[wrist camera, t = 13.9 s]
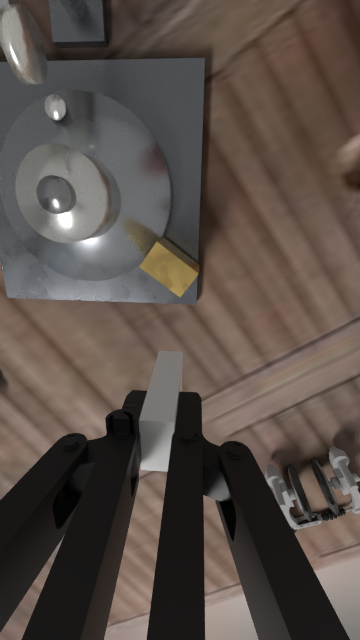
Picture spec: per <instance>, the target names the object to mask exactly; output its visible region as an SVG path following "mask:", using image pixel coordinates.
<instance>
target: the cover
mask: <svg viewBox="0 0 360 640" xmlns="http://www.w3.org/2000/svg"><path fill="white" fill-rule="evenodd" d="M15 188H16V197H17V201H18V205H19V207H20V210H21V212H22V214H23V216H24V218H25V219H26V220H27V222H28V223H29V224H30V225H31V227H32V228H33V229H34V230H35V231H37V232H38V233H39V234H41V235H42V236H44V237H45V238H47V239H50V240H52V241H56V242H61V243H71V242H77V241H82V240H87V239H92V238H96V237H99V236H102V235H103V234H105V233H107V232H108V231H109V230H110V229H111V228H112V227H113V225H114V224H115V222H116V220H117V218H118V216H119V212H120V207H121V196H120V190H119V187H118V184H117V182H116V179H115V178H114V176H113V174H112V173H111V172H110V170H109V169H108V168H107V167H106V166H105V165H104V164H102V163H101V162H100V161H98V160H96V159H95V158H92V157H90V156H88V155H86V154H84V153H82V152H80V151H78V150H76V149H74V148H72V147H70V146H67V145H64V144H58V143H48V144H43V145H41V146H38V147H36V148H35V149H33V150H32V151H30V152H29V153H28V154H27V155H26V156H25V157H24V159H23V160H22V162H21V164H20V166H19V168H18V172H17V176H16V184H15Z"/></svg>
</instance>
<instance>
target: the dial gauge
mask: <svg viewBox="0 0 360 640" xmlns="http://www.w3.org/2000/svg"><path fill="white" fill-rule="evenodd" d="M48 1H49V10H50V19H51V28H52V38H53V43H54V44H55V45H56V46H57V47H58V48H70V47H108V42H107V25H106V8H105V0H48ZM0 47H2V48H3V51H4V54H5V56H6V59H7V61H8V63H9V65H10V67H11V69H12V71H13V72H14V74H15V75H16V77H17V78H18V79H19V80H20V81H21V82H22V83H24V84H44V83H45V82H46V79H47V74H48V65H47V56H46V51H45V47H44V43H43V39H42V36H41V33H40V31H39V28H38V26H37V24H36V21H35V19H34V18H33V16H32V14H31V13H30V11H29V10H28V9H27V8H26V7H25V6H24V5H22V4H19V0H0Z"/></svg>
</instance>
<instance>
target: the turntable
mask: <svg viewBox="0 0 360 640" xmlns="http://www.w3.org/2000/svg"><path fill="white" fill-rule="evenodd" d="M48 143H58V144H64V145H67V146H70V147H72V148H74V149H76V150H78V151H80V152H82V153H84V154H86V155H88V156H90V157H92V158H95V159H96V160H98V161H100V162H101V163H102V164H104V165H105V166H106V167H107V168H108V169H109V170H110V172H111V173H112V174H113V176H114V178H115V179H116V182H117V184H118V187H119V190H120V196H121V207H120V212H119V216H118V218H117V220H116V222H115V224H114V225H113V227H112V228H111V229H110V230H109V231H108V232H107V233H105V234H103V235H102V236H99V237H96V238H92V239H87V240H82V241H77V242H71V243H61V242H56V241H52V240H50V239H47V238H45V237H44V236H42V235H41V234H39V233H38V232H37V231H35V230H34V229H33V228H32V227H31V225H30V224H29V223H28V222H27V220H26V219H25V218H24V216H23V214H22V212H21V210H20V207H19V205H18V201H17V197H16V188H15V184H16V176H17V172H18V168H19V166H20V164H21V162H22V160H23V159H24V157H25V156H26V155H27V154H28V153H29V152H30V151H32V150H33V149H35V148H36V147H38V146H41V145H43V144H48ZM0 194H1V199H2V203H3V207H4V210H5V212H6V215H7V218H8V220H9V222H10V224H11V226H12V228H13V230H14V232H15V233H16V235H17V236H18V238H19V239H20V241H21V242H22V243H23V244H24V246H25V247H26V248H27V249H28V250H29V251H30V252H31V253H32V254H33V255H34V256H35V257H36V258H37V259H38V260H39V261H41V262H42V263H43V264H45V265H46V266H48V267H49V268H51V269H53V270H54V271H56V272H58V273H61V274H63V275H65V276H68V277H71V278H75V279H80V280H87V281H102V280H108V279H113V278H116V277H119V276H122V275H124V274H126V273H128V272H130V271H132V270H133V269H135V268H136V267H138V266H139V265H140V264H141V265H140V266H139V267H140V268H141V269H143V270H144V271H145V272H147V273H148V274H149V275H151V276H152V277H153V278H155V279H156V280H157V281H159V282H160V283H161V284H163V285H164V286H165V287H167V288H168V289H169V290H171V291H172V292H173V293H175V294H176V295H177V296H179V297H181V296H182V295H183V293H184V292H185V291H186V290H187V288H188V287H189V286H190V284H191V283H192V282H193V281H194V279H195V278H196V277H197V276H198V274H199V264H197V263H196V262H195V261H194V260H192V259H191V258H190V257H188V256H187V255H186V254H185V253H183V252H182V251H181V250H179V249H178V248H177V247H176V246H174V245H173V244H172V243H170V242H169V241H168V240H167V239H165V238H164V237H163V236H164V234H165V231H166V229H167V226H168V222H169V219H170V214H171V208H172V187H171V179H170V174H169V170H168V167H167V164H166V161H165V158H164V156H163V154H162V151H161V149H160V147H159V145H158V144H157V142H156V141H155V139H154V137H153V136H152V134H151V133H150V131H149V130H148V129H147V128H146V126H145V125H144V124H143V123H142V121H141V120H140V119H139V118H138V117H137V116H136V115H135V114H133V113H132V112H131V111H130V110H129V109H127V108H126V107H125V106H123V105H122V104H121V103H119V102H117V101H115V100H113V99H111V98H110V97H107V96H104V95H102V94H99V93H96V92H91V91H86V90H65V91H59V92H55V93H52V94H49V95H46V96H44V97H42V98H40V99H38V100H37V101H35V102H34V103H32V104H31V105H30V106H28V107H27V108H26V109H25V110H24V111H23V112H22V113H21V114H20V115H19V116H18V118H17V119H16V120H15V122H14V123H13V125H12V126H11V128H10V130H9V132H8V134H7V136H6V139H5V141H4V144H3V147H2V151H1V156H0Z"/></svg>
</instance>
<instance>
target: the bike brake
mask: <svg viewBox="0 0 360 640" xmlns="http://www.w3.org/2000/svg"><path fill="white" fill-rule="evenodd" d="M329 450H330V451H329V455H330V456H329V459H330V462H331V466H332V468H333V471H334V475H335V477H332V478H331V481H330V482H328V480H327V478H326V475H325V473H324V471H323V469H322V468H321V466H320V465H319V464H318V462H317V461H316V460H315V459H312V460H311V461H312V469H313V472H314V474H315V476H316V479H317V481H318V483H319V485H320V488H321V490H322V492H323V495H324V497H325V499H326V501H327V504H328V506H329V508H330V509H331V512H330V510H328V511H327V513H326V512H323V514H322V513H321V516H318V514H317V513H315V514H312V511H311V508H310V505H309V503H308V500H307V498H306V495H305V492H304V490H303V487H302V485H301V482H300V480H299V477H298V475H297V473H296V471H295V470H294V469H293V467H292V466H291V465H289V466H288V473H289V479H290V482H291V485H292V487H293V489H292V488H291V489H288V488H287V486H286V484H285V481H284V479H283V478H282V475H281V473H280V472H278V471H277V469H276V468H275V467H273V465H268V466H267V469H266V473H265V478H266V481H267V483H268V485H269V486H271V487H272V488H273V491H274V496H275V498H276V500H277V502H278V504H279V506H280V508H281V510H282V511H283V513H284V515H285V517H286V519H287V521H288V523H289V525H290V526H291V527H293V529H292V530H293V532H294V534H295V532H296V531H297V530H298V529H301V528H305V527H309V526H313V525H318V524H321V521H320V520H321V519H323V520H324V521H325V520H326V521H328V520H329V518H330V519H331V520H333V517H334V518H335V519H336V518H337V516H338V517H340V515H341V516H342V514H344V515H345V513H346V511H350V510H352V512H353V513H355V514H360V493H359V491H358V488H359V487H358V485H357V483H356V482H358V481H360V478H359V476H358V474H357V473H353V474H351V472H350V471H349V469H348V464H349V461H350V460H349V458H348V456H347V455H346V453H345V452H344V451H343V450H340V449H338V448H336V447H335V446H333V447H331V448H330V449H329ZM331 486H334V488H335V489H337V488H341V490H342V492H343V494H344V495H346V494H349V493H351V494H352V501H351V502H350V508H348V509H345V510H344V509H343V508H341V510H340V509H339V508H338V505H337V500H336V497H335V494H334V492H333V490H332V488H331ZM293 490H294V491H293ZM295 499H297V501H298V504H299V506H300V508H301V510H302V512H303V513H304V515H305V516H303V517H299V518H294V517H293V516H292V515H291V514H290V512H289V509H290V507H294V503H293V501H292V500H295ZM312 515H315V516H312ZM305 517H306V518H305ZM300 518H301V519H300ZM298 519H299V520H298ZM302 520H303V521H302ZM298 521H301V522H300V523H298ZM309 522H310V523H309ZM315 522H318V523H315ZM307 524H310V525H307ZM301 526H302V527H301Z"/></svg>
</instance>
